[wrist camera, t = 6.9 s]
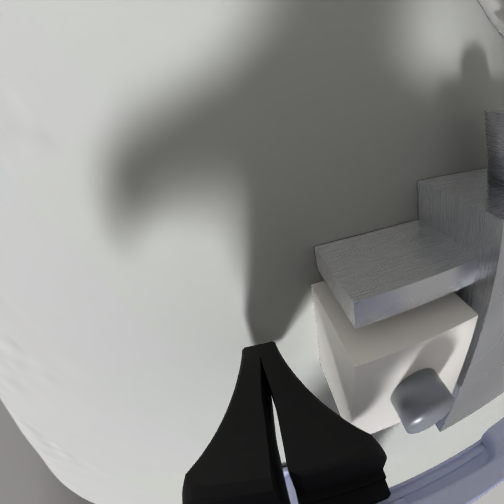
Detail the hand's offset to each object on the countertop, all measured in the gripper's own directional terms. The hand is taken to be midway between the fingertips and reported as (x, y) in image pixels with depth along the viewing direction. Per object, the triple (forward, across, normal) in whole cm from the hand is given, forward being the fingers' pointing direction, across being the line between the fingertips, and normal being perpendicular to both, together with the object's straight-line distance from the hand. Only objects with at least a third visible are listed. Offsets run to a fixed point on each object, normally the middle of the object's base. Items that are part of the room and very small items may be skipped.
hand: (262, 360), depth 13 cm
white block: (+1, -5, 0) cm, 5 cm away
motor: (+1, -9, -2) cm, 9 cm away
